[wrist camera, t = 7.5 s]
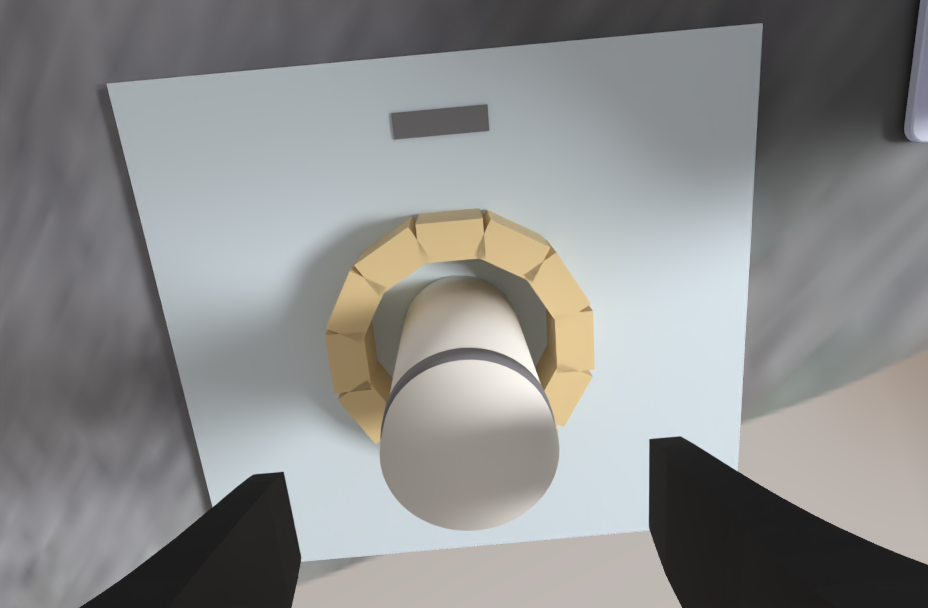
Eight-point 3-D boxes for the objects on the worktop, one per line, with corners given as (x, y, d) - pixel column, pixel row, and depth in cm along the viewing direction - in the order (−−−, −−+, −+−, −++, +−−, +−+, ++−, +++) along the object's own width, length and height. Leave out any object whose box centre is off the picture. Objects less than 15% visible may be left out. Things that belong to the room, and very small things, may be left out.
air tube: (516, 268, 20) (558, 361, 13) (522, 379, 22) (565, 524, 14) (395, 279, 20) (365, 379, 13) (408, 389, 22) (389, 540, 14)
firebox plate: (753, 25, 19) (799, 12, 16) (728, 513, 24) (759, 558, 22) (116, 84, 19) (66, 79, 16) (232, 557, 24) (208, 607, 22)
